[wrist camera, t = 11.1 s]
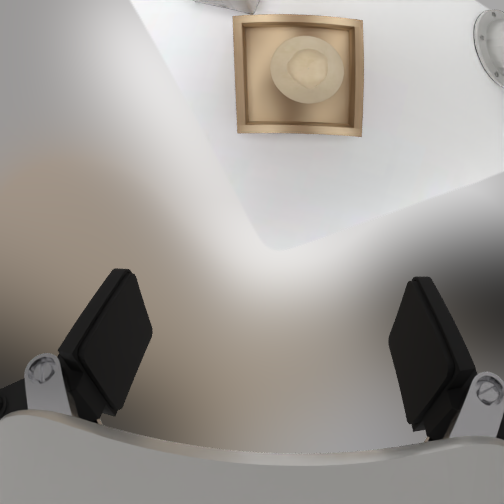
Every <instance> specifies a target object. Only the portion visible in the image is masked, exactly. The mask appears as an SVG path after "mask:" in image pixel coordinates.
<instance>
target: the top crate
mask: <svg viewBox="0 0 504 504" xmlns="http://www.w3.org/2000/svg"><path fill="white" fill-rule="evenodd" d="M298 36H312V37H316V38H319V39H322V40H324V41H326V42H327V43H329V44H330V45H331V46H332V47H333V48H334V49H335V50H336V51H337V52H338V54H339V55H340V57H341V60H342V63H343V67H344V76H343V81H342V84H341V86H340V87H339V89H338V90H337V92H336V93H335V94H334V95H333V96H331V97H330V98H328V99H327V100H324V101H322V102H318V103H312V104H307V103H300V102H296V101H294V100H292V99H290V98H288V97H286V96H285V95H284V94H283V93H282V92H280V90H279V89H278V88H277V87H276V85H275V84H274V81H273V79H272V76H271V70H270V65H271V60H272V57H273V54H274V52H275V51H276V49H277V48H278V47H279V46H280V45H281V44H282V43H284V42H285V41H287V40H289V39H291V38H294V37H298ZM233 39H234V64H235V88H236V111H237V133H304V134H327V135H343V136H356V137H362V118H363V87H364V47H363V20H356V19H348V18H339V17H329V16H315V15H292V14H266V15H242V16H233Z"/></svg>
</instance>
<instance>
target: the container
mask: <svg viewBox="0 0 504 504" xmlns="http://www.w3.org/2000/svg"><path fill="white" fill-rule="evenodd" d="M193 1H195V2H200V3H205V4H210V5H215V6H220V7H225V8H229V9H233V10H237V11H241V12H245V13H249V14H252V13H254V11H255V9H256V7H257V4H258V2H259V0H193Z"/></svg>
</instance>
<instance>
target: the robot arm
mask: <svg viewBox="0 0 504 504" xmlns="http://www.w3.org/2000/svg"><path fill="white" fill-rule="evenodd" d="M474 39H475V45H476V49H477V53H478V56H479V58H480V60H481V63H482V65H483V66H484V68H485V70H486V71H487V73H488V74H489V76H490V77H491V78H492V79H493V80H494V81H495V82H496V83H497V84H498V85H500V86H501V87H503V88H504V12H503V11H500V10H488V11H485V12H483V13H482V14H480V16H479V17H478V18H477V21H476V23H475V29H474ZM151 337H152V326H151V323H150V320H149V317H148V314H147V311H146V308H145V305H144V302H143V299H142V295H141V292H140V289H139V285H138V282H137V278H136V276H135V274H133V273H132V272H131V271H130V270H129V269H114V270H112V271H111V273H110V274H109V275H108V277H107V278H106V280H105V281H104V282H103V284H102V285H101V286H100V288H99V289H98V291H97V292H96V294H95V295H94V296H93V298H92V299H91V301H90V302H89V304H88V305H87V307H86V308H85V310H84V311H83V312H82V314H81V315H80V317H79V318H78V320H77V321H76V323H75V324H74V326H73V327H72V329H71V330H70V332H69V333H68V335H67V337H66V338H65V340H64V341H63V343H62V345H61V346H60V348H59V349H58V351H59V355H58V357H56V356H55V355H53V354H50V353H44V354H40V355H38V356H36V357H35V358H33V359H32V360H31V361H30V362H29V364H28V365H27V367H26V370H25V378H24V379H22V380H20V381H17V382H15V383H13V384H11V385H8V386H6V387H4V388H2V389H0V504H504V382H503V381H502V380H501V378H500V377H498V376H497V375H495V374H493V373H491V372H482V373H479V374H477V372H476V369H475V365H474V363H473V361H472V358H471V356H470V354H469V351H468V349H467V347H466V345H465V343H464V341H463V338H462V336H461V334H460V332H459V330H458V328H457V326H456V324H455V322H454V320H453V318H452V316H451V314H450V313H449V310H448V308H447V307H446V305H445V303H444V301H443V299H442V298H441V295H440V293H439V292H438V290H437V288H436V286H435V285H434V283H433V281H432V279H431V278H430V277H414V278H413V279H412V281H409V282H408V283H407V286H406V289H405V293H404V295H403V298H402V302H401V304H400V307H399V311H398V313H397V316H396V319H395V322H394V324H393V327H392V330H391V332H390V335H389V348H390V352H391V355H392V359H393V363H394V367H395V370H396V374H397V378H398V382H399V387H400V391H401V395H402V400H403V404H404V409H405V413H406V418H407V422H408V423H409V424H412V428H413V432H414V431H420V430H426V434H427V438H426V440H425V441H424V443H419V444H412V445H406V446H399V447H391V448H384V449H376V450H366V451H355V452H341V453H316V454H315V453H313V454H286V453H284V454H283V453H259V452H245V451H234V450H224V449H216V448H208V447H200V446H194V445H187V444H182V443H176V442H171V441H165V440H160V439H156V438H151V437H146V436H142V435H138V434H134V433H130V432H126V431H122V430H118V429H114V428H110V427H107V426H104V425H102V422H101V420H100V416H101V414H102V413H104V414H108V415H111V416H116V413H117V411H118V410H120V409H121V408H122V407H123V405H124V402H125V399H126V397H127V395H128V392H129V390H130V387H131V384H132V382H133V380H134V377H135V375H136V373H137V370H138V367H139V365H140V363H141V361H142V358H143V356H144V353H145V351H146V349H147V346H148V344H149V342H150V339H151Z"/></svg>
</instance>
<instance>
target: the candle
mask: <svg viewBox="0 0 504 504" xmlns="http://www.w3.org/2000/svg"><path fill="white" fill-rule="evenodd" d="M270 70H271V76H272V79H273V81H274V84H275V85H276V87H277V88H278V89H279V90H280V92H282V93H283V94H284V95H285V96H286V97H288V98H290V99H292V100H294V101H296V102H300V103H307V104H312V103H318V102H322V101H324V100H327V99H328V98H330V97H331V96H333V95H334V94H335V93H336V92H337V90H338V89H339V87H340V86H341V84H342V81H343V76H344V67H343V63H342V60H341V57H340V55H339V54H338V52H337V51H336V50H335V49H334V48H333V47H332V46H331V45H330V44H329V43H327V42H326V41H324V40H322V39H319V38H316V37H312V36H298V37H294V38H291V39H289V40H287V41H285V42H284V43H282V44H281V45H280V46H279V47H278V48H277V49H276V51H275V52H274V54H273V57H272V60H271V65H270Z"/></svg>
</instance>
